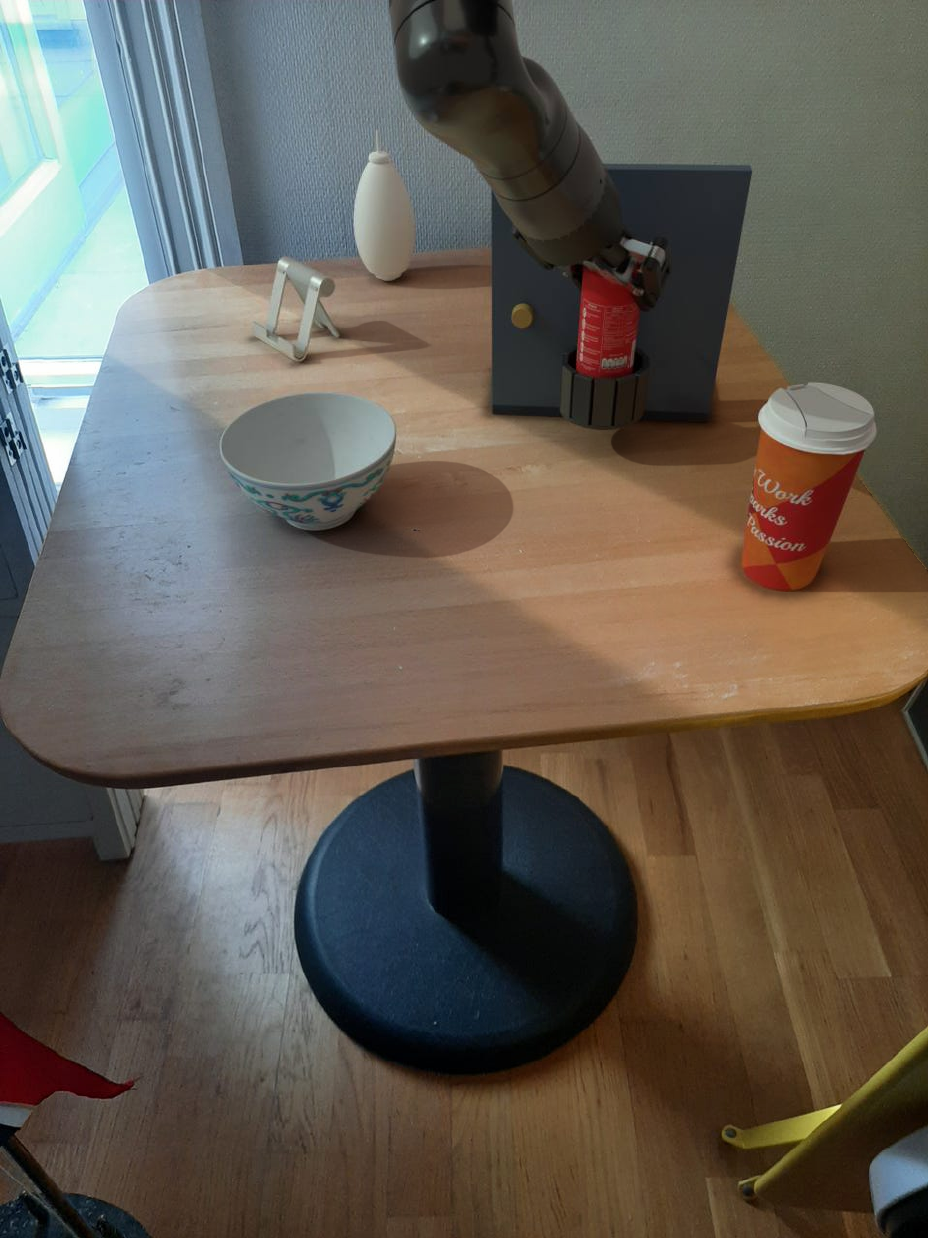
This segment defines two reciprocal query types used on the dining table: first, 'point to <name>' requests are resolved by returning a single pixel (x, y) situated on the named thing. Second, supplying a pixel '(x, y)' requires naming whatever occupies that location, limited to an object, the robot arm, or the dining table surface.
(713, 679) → the dining table surface
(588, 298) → the beverage can
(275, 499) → the chinaware
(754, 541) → the coffee cup
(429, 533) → the dining table surface
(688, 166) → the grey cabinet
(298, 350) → the tablet stand
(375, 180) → the white air blower
